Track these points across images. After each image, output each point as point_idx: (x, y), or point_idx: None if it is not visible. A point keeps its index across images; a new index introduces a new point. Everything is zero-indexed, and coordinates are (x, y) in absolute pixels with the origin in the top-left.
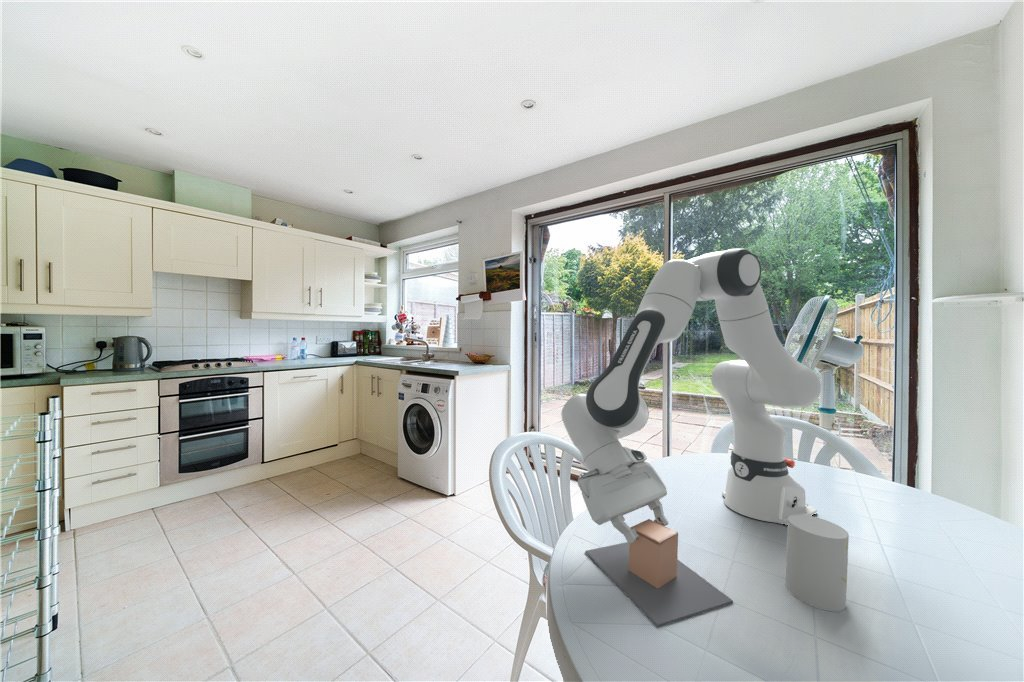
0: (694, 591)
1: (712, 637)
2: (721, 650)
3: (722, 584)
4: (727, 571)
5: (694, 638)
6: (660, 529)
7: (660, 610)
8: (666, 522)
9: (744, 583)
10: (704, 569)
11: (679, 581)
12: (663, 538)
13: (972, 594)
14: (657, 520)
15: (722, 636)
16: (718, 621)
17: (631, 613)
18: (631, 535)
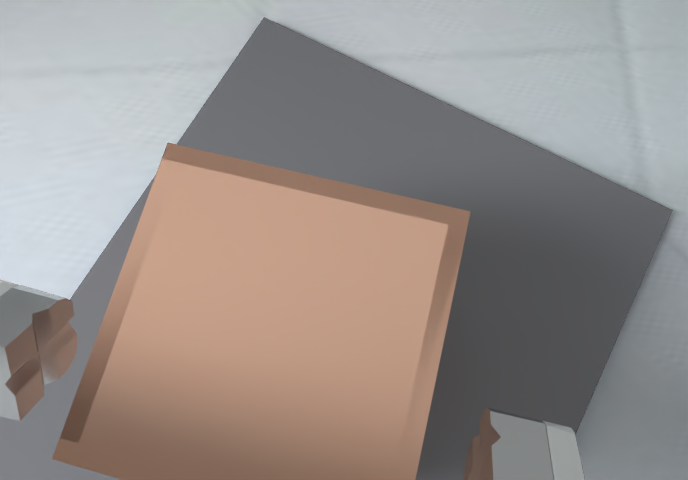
0: (315, 149)
1: (538, 44)
2: (579, 10)
3: (153, 78)
4: (24, 81)
5: (599, 90)
6: (214, 283)
7: (572, 228)
8: (15, 287)
9: (82, 13)
10: (74, 164)
11: None
12: (365, 209)
13: None
14: (24, 375)
15: (503, 20)
16: (428, 45)
17: (680, 334)
18: (575, 469)
